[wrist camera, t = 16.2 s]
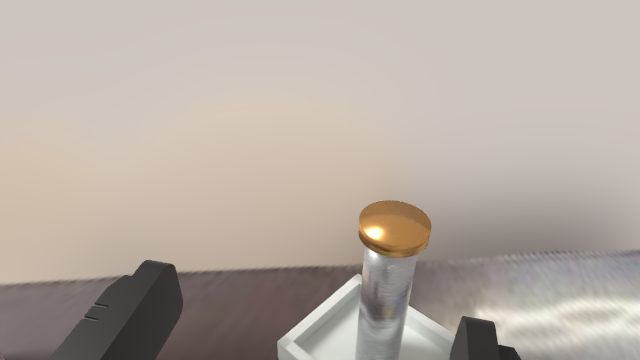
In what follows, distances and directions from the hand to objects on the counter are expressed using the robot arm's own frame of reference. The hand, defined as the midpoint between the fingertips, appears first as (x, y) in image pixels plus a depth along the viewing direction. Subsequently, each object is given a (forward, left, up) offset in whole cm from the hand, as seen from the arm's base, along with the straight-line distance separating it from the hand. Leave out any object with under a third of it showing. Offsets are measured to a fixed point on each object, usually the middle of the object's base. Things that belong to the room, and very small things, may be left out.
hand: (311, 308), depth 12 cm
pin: (-7, +16, -26) cm, 32 cm away
